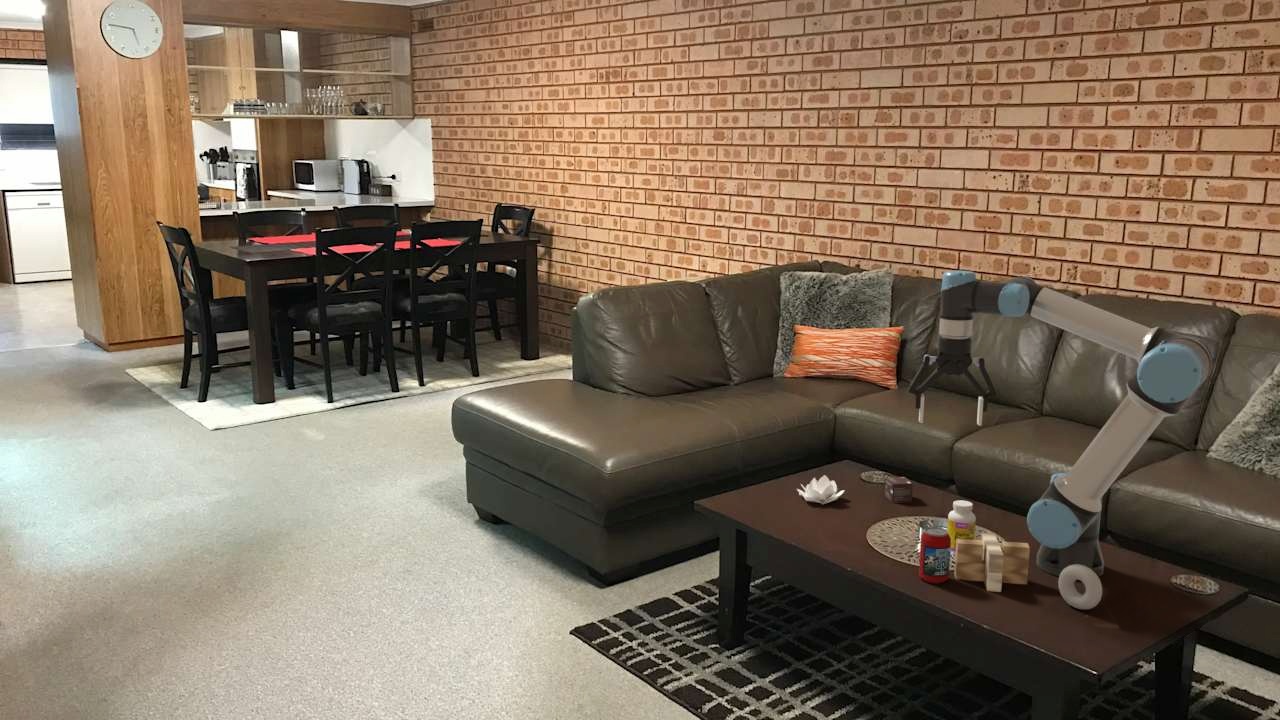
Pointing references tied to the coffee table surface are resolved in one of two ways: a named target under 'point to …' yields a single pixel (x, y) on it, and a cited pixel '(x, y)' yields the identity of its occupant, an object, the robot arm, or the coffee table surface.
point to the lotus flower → (821, 490)
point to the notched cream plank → (992, 562)
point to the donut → (1090, 582)
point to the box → (898, 489)
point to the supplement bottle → (961, 523)
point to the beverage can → (935, 555)
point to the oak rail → (973, 564)
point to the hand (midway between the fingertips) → (949, 423)
